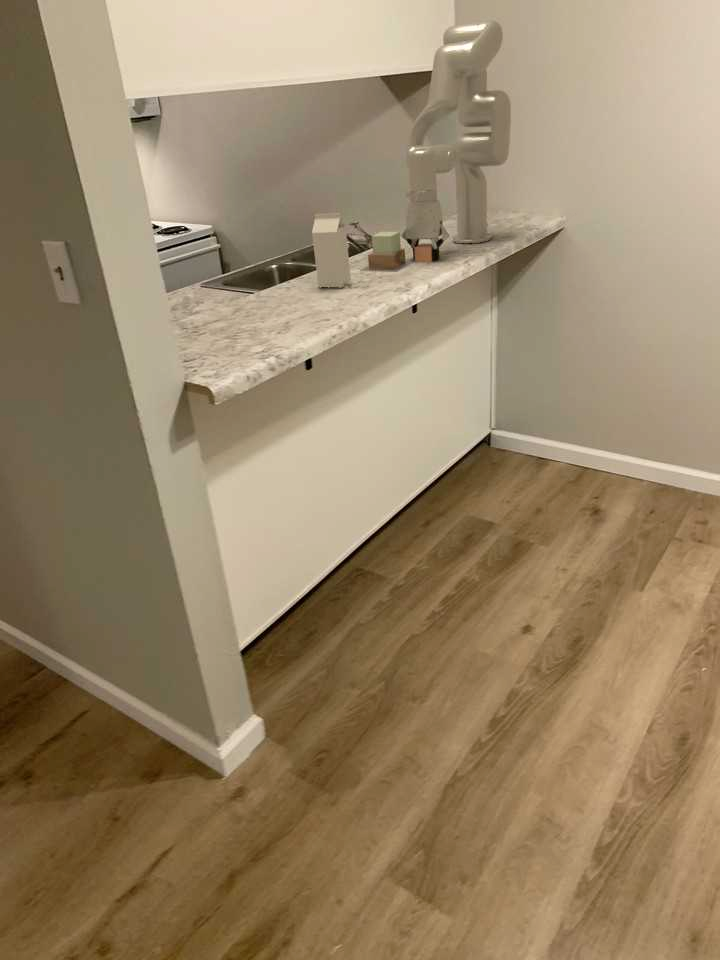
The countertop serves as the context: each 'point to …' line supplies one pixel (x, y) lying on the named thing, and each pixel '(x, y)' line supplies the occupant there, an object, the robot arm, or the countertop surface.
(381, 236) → the sage brick
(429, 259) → the terracotta brick
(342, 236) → the milk carton
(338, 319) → the countertop surface
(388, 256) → the walnut brick
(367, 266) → the build plate
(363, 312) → the countertop surface
